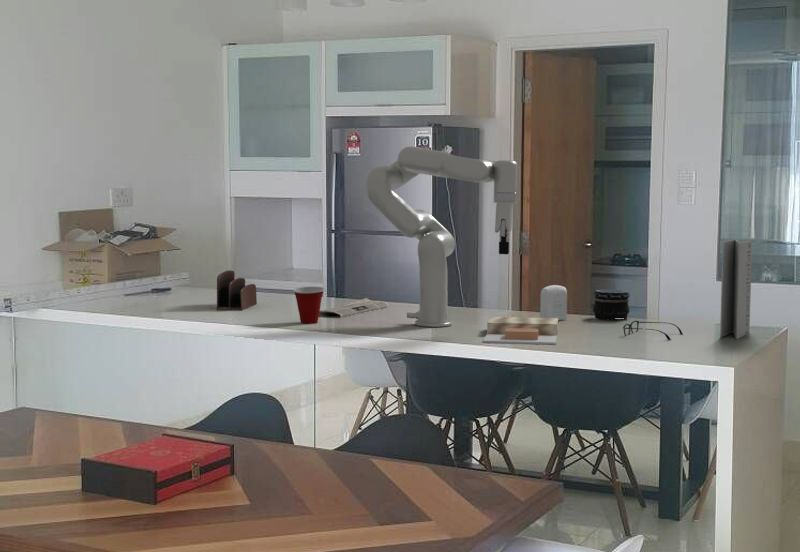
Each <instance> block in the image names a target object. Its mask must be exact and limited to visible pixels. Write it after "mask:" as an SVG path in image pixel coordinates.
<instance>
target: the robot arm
mask: <svg viewBox="0 0 800 552" xmlns="http://www.w3.org/2000/svg"><path fill="white" fill-rule="evenodd" d="M420 174H422V175H429V176H433V177H439V178H443V179H453V180H459V181H464V182H465V181H466V182H470V183H471V182H472V183H477V184H479V183H492V182H493V203H495V220H494V221H495V222H494V223H495V225H494V233H496V234H497V233H499V242H498V254H499V255H509V254H510V242H509V241H510V239H509V238H510V232H512V229H513V228H512V227H513V218H514V217H513V212H514V209H513V208H514V204H517V202H518V201H517V195H518V194H517V192H518V190H517V189H518V163H517V161H515V160H507V159H506V160H504V159H502V160H496V161H495V160H490V159H481V158H479V159H477V158H470V157H465V156H464V157H463V156H460V155H459V156H458V155H454V154H451V153H449V152H447V151H442V150H435V149H430V148H429V149H428V148H422V147H420V146H405V147H403V148H401V150H399V152H398V154H397V160H395V161H394V162H393V163H391V164H390V165H378V166H375V167H374V168H372V169H371V170H370V171H369V172H368V173H367V176H366V180H365V191H366V195H367V198H368V199H369V201H370V203H371V204H372V205H373V206H374V207H375V209H377V210H378V212H380V213H381V214H382V215H383V217H385V218H386V219H387V221H389V222H390V223H391V224H392V225H393V226H394V227H395V228H396V229H397V230H398V231H399V232H400V233H401V234H402V235H403V236H404V237H406V238H410V239H414V238H416V239H417V240H418V244H417V257H418V266H419V267H418V268H419V269H418V270H419V272H418V273H419V276H418V277H419V310H418V311H416V312H406V318H407V319H416V320H415V321H414V325H415V326H419V327H426V328H427V327H429V328H435V327H436V328H437V327H438V328H439V327H449V326H451V325H453V321H452V320H450V319H448V285H449V281H448V275H449V274H448V273H449V272H448V263H447V257H449V256H451V255H452V254H453V252H454V251H455V248H456V241H455V239H454V236H453V234H452V233H450V231H448V229H446V228H445V227H444V226H443V225H442V224H441V223H440V222H439V221H438V220H437V219H436V218H435V217H434V216H433V215H431V214H430V213H429V212H428V211H425V210H422V209H414V208H413V207H411V205H409V204H408V202H406V201H405V200H404V199H403V198H402V197H401V196H400V195H398V194H397V193H396V192H395V191H394V190H398V189H399V188H401V187H403V186H404V185H406V184H407V183H408V182H410V181H411V180H412V179H414V178H415V177H417V176H419V175H420Z"/></svg>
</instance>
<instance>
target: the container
mask: <svg viewBox="0 0 800 552" xmlns="http://www.w3.org/2000/svg"><path fill="white" fill-rule="evenodd" d="M630 295H631V294H630V293H629V292H628V290H621V289H596V290H595V292H593V297H594V299H593V300H594V305H593V309H592V312H593V313H594V318H595V319H596V320H603V321H625V319H626V320H628V315H629V313H630V308H629V307H630V306H629V301H630V299H629V298H630ZM615 318H624V319H615Z"/></svg>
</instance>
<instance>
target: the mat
mask: <svg viewBox="0 0 800 552" xmlns="http://www.w3.org/2000/svg"><path fill="white" fill-rule="evenodd" d="M557 340H558V335H557V336H553V335H539V337H538V340H526V339H505V334H487V333H486V335H485V337H484V338H483V340H482V343H484V344H521V345H522V344H523V345H524V344H525V345H528V344H529V345H554V346H555V345H557Z"/></svg>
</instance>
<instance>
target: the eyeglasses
mask: <svg viewBox="0 0 800 552" xmlns="http://www.w3.org/2000/svg"><path fill="white" fill-rule="evenodd" d="M634 323H636V327H632V325H633V324H634ZM639 324H665V322H663V321H659V322H657V321H656V322H655V321H639V320H634V321H632V322H631V323H630V324H629V323H625V324H624V325H623V326H622V329H623V333H624V336H625V337H627V335H626V330H627V329H628V336H629V335H630V333H632V334H634V330H636V331H635V332H639V330H642V328H641V327H639ZM667 324H669V325H672V326H673V327H676V328H677V329H678V332H679V335H682V336H683V335H684V334H683V332H682V330H681V328H680V327H679V326H677V325H676V324H674V323H670V322H667ZM626 326H628V327H626ZM646 330H651V331H657V332H659V333H662V334H663V335H664V336H665V338H666V339H667V340H668V341H672V339H671V337H670V336H669V335H668V334H667V333H666V332H663V331H661V330H659V329H653V328H646Z"/></svg>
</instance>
